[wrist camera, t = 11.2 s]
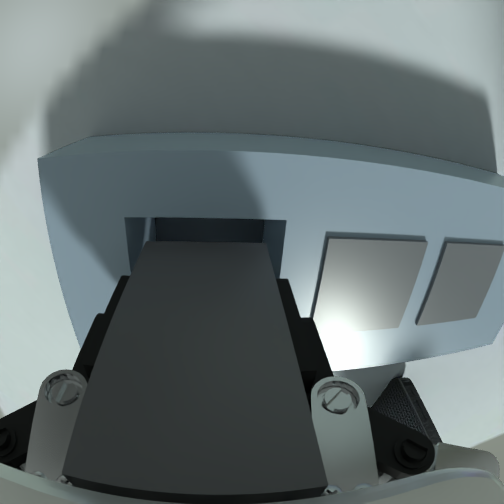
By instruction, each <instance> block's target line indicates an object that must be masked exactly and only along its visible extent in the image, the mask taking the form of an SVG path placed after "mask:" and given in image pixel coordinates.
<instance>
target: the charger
mask: <svg viewBox="0 0 504 504" xmlns="http://www.w3.org/2000/svg"><path fill="white" fill-rule="evenodd" d="M62 475H63V476H64V477H65V478H66V479H67V480H68V481H69V482H70V483H71V484H73V485H74V486H75V487H78V488H82V489H86V490H91V491H95V492H100V493H105V494H110V495H116V496H122V497H128V498H135V499H142V500H150V501H159V502H170V503H184V504H258V503H272V502H283V501H293V500H301V499H308V498H315V497H320V495H321V494H322V493H323V492H324V490H325V489H326V488H327V487H328V481H327V477H326V473H325V469H324V465H323V461H322V457H321V452H320V448H319V444H318V440H317V436H316V432H315V428H314V424H313V420H312V416H311V412H310V408H309V404H308V400H307V396H306V392H305V389H304V385H303V381H302V377H301V373H300V369H299V365H298V361H297V357H296V354H295V350H294V346H293V342H292V338H291V334H290V331H289V327H288V323H287V319H286V315H285V312H284V308H283V304H282V300H281V297H280V293H279V289H278V285H277V282H276V278H275V274H274V271H273V267H272V263H271V260H270V256H269V252H268V249H267V245H266V243H235V242H174V241H146V242H145V244H144V247H143V249H142V251H141V253H140V255H139V257H138V259H137V262H136V264H135V266H134V268H133V270H132V273H131V275H130V277H129V279H128V282H127V284H126V286H125V289H124V291H123V293H122V295H121V298H120V300H119V303H118V305H117V307H116V310H115V312H114V315H113V317H112V320H111V322H110V325H109V327H108V330H107V332H106V335H105V337H104V340H103V343H102V345H101V348H100V351H99V353H98V356H97V359H96V361H95V364H94V367H93V370H92V373H91V376H90V378H89V381H88V384H87V387H86V390H85V393H84V396H83V399H82V403H81V406H80V409H79V412H78V415H77V419H76V422H75V425H74V429H73V432H72V436H71V439H70V443H69V446H68V450H67V454H66V458H65V462H64V465H63V470H62Z"/></svg>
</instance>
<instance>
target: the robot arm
mask: <svg viewBox="0 0 504 504" xmlns="http://www.w3.org/2000/svg"><path fill="white" fill-rule="evenodd" d="M129 277H130V276H127V275H122V276H121V277H120V279H119V282H118V284H117V286H116V288H115V290H114V292H113V294H112V297H111V299H110V301H109V303H108V305H107V308H106V310H105V312H104V313H98V314H97V315H96V317H95V318H94V321H93V323H92V325H91V327H90V330H89V332H88V334H87V336H86V339H85V341H84V343H83V345H82V348H81V350H80V353H79V355H78V357H77V360H76V362H75V365H74V367H73V370H67V369H66V370H59V371H56V372H54V373H52V374H50V375H49V376H48V377H46V379H45V380H44V381H43V382H42V384H41V387H40V390H39V394H38V399H37V400H36V401H34V402H32V403H30V404H28V405H26V406H24V407H23V408H21V409H19V410H17V411H15V412H13V413H11V414H9V415H7V416H5V417H3V418H1V419H0V504H184V503H170V502H159V501H150V500H142V499H135V498H128V497H122V496H116V495H110V494H105V493H100V492H95V491H91V490H86V489H82V488H78V487H75V486H74V485H73V484H71V483H70V482H69V481H68V480H67V479H66V478H65V477H64V476H63V475H62V470H63V465H64V462H65V458H66V454H67V450H68V446H69V443H70V439H71V436H72V432H73V429H74V425H75V422H76V419H77V415H78V412H79V409H80V406H81V403H82V399H83V396H84V393H85V390H86V387H87V384H88V381H89V378H90V376H91V373H92V370H93V367H94V364H95V361H96V359H97V356H98V353H99V351H100V348H101V345H102V343H103V340H104V337H105V335H106V332H107V330H108V327H109V325H110V322H111V320H112V317H113V315H114V312H115V310H116V307H117V305H118V303H119V300H120V298H121V295H122V293H123V291H124V289H125V286H126V284H127V282H128V279H129ZM276 282H277V285H278V289H279V293H280V297H281V300H282V304H283V308H284V312H285V315H286V319H287V323H288V327H289V331H290V334H291V338H292V342H293V346H294V350H295V354H296V357H297V361H298V365H299V369H300V373H301V377H302V381H303V385H304V389H305V392H306V396H307V400H308V404H309V408H310V412H311V416H312V420H313V424H314V428H315V432H316V436H317V440H318V444H319V448H320V452H321V457H322V461H323V465H324V469H325V473H326V477H327V481H328V487H327V488H326V489H325V490H324V492H323V493H322V494H321V495H320V497H315V498H308V499H301V500H293V501H283V502H272V503H258V504H504V484H503V483H502V482H501V480H500V479H499V471H500V468H499V462H498V460H497V458H496V457H495V456H494V455H493V454H492V453H490V452H488V451H483V450H478V449H472V448H466V447H461V446H456V445H451V444H446V443H441V442H439V443H438V444H437V445H434V444H432V442H431V441H430V439H429V438H428V437H427V436H425V435H424V434H422V433H420V432H418V431H416V430H414V429H412V428H410V427H408V426H405V425H403V424H401V423H399V422H397V421H395V420H393V419H391V418H389V417H387V416H385V415H383V414H381V413H379V412H377V411H375V410H373V409H371V408H369V407H367V404H366V399H365V395H364V393H363V390H362V389H361V388H360V387H359V385H357V384H356V383H355V382H353V381H352V380H349V379H347V378H344V377H337V376H334V375H333V372H332V370H331V367H330V364H329V361H328V358H327V355H326V353H325V350H324V347H323V344H322V341H321V339H320V336H319V333H318V330H317V327H316V325H315V322H314V320H313V318H311V317H302V318H301V317H300V314H299V311H298V308H297V304H296V301H295V298H294V295H293V292H292V289H291V286H290V283H289V280H288V279H287V278H276Z"/></svg>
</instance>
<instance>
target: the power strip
mask: <svg viewBox="0 0 504 504" xmlns="http://www.w3.org/2000/svg"><path fill="white" fill-rule="evenodd" d="M38 168H39V177H40V185H41V193H42V200H43V206H44V212H45V218H46V224H47V229H48V234H49V239H50V244H51V249H52V253H53V257H54V262H55V266H56V270H57V274H58V278H59V282H60V285H61V289H62V293H63V296H64V300H65V303H66V306H67V310H68V313H69V316H70V319H71V322H72V325H73V328H74V331H75V334H76V337H77V340H78V343H79V345H80V348H82V345H83V343H84V341H85V339H86V336H87V334H88V332H89V330H90V327H91V325H92V323H93V321H94V318H95V317H96V315H97V314H98V313H104V312H105V310H106V308H107V305H108V303H109V301H110V299H111V297H112V294H113V292H114V290H115V288H116V286H117V284H118V282H119V279H120V277H121V276H122V275H127V276H130V275H131V273H132V270H133V268H134V266H135V264H136V262H137V259H138V257H139V255H140V253H141V251H142V249H143V247H144V244H145V242H146V241H156V227H155V217H174V218H234V219H264V231H263V242H262V243H266V245H267V249H268V252H269V256H270V260H271V263H272V267H273V271H274V274H275V278H287V279H288V280H289V283H290V286H291V289H292V292H293V295H294V298H295V301H296V304H297V308H298V311H299V314H300V317H301V318H302V317H311V318H313V320H314V322H315V325H316V327H317V330H318V333H319V336H320V339H321V341H322V344H323V347H324V350H325V353H326V355H327V358H328V361H329V364H330V367H331V370H332V371H340V370H350V369H358V368H367V367H375V366H382V365H389V364H396V363H402V362H408V361H414V360H420V359H426V358H431V357H436V356H441V355H446V354H451V353H456V352H460V351H465V350H469V349H473V348H478V347H482V346H486V345H490V344H492V343H493V341H494V340H495V338H496V336H497V334H498V332H499V331H500V329H501V327H502V325H503V323H504V176H501V175H499V174H497V173H493V172H490V171H486V170H482V169H479V168H475V167H471V166H467V165H463V164H459V163H455V162H451V161H446V160H442V159H437V158H433V157H428V156H423V155H418V154H413V153H408V152H402V151H397V150H391V149H385V148H379V147H373V146H366V145H359V144H352V143H345V142H337V141H329V140H320V139H310V138H300V137H288V136H275V135H260V134H240V133H201V132H179V133H140V134H121V135H106V136H94V137H88V138H85V139H83V140H80V141H78V142H75V143H73V144H70V145H68V146H65V147H63V148H61V149H58V150H56V151H54V152H51V153H49V154H47V155H45V156H42V157H40V158H38Z"/></svg>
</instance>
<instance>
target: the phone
mask: <svg viewBox="0 0 504 504" xmlns="http://www.w3.org/2000/svg"><path fill="white" fill-rule="evenodd" d="M371 409H373V410H375V411H377V412H379V413H381V414H383V415H385V416H387V417H389V418H391V419H393V420H395V421H397V422H399V423H401V424H403V425H405V426H408V427H410V428H412V429H414V430H416V431H418V432H420V433H422V434H424V435H425V436H427V437H428V438H429V439H430V441H431V442H432V444H434V445H437V444H438V443H439V442H441V443H443V442H442V440H441V438H440V436H439V434H438V432H437V430H436V428H435V426H434V424H433V422H432V420H431V418H430V416H429V414H428V412H427V410H426V408H425V406H424V404H423V402H422V400H421V398H420V396H419V394H418V392H417V390H416V388H415V387H414V385H413V383H412V381H411V380H410V379H409V378H395V379H393V380H392V381H391V382H390V383H389V385H388V386H387V387H386V389H385V390H384V392H383V393H382V394H381V396H380V397H379V398H378V400H377V401H376V402H375V404H374V405H373V406H372V408H371Z"/></svg>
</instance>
